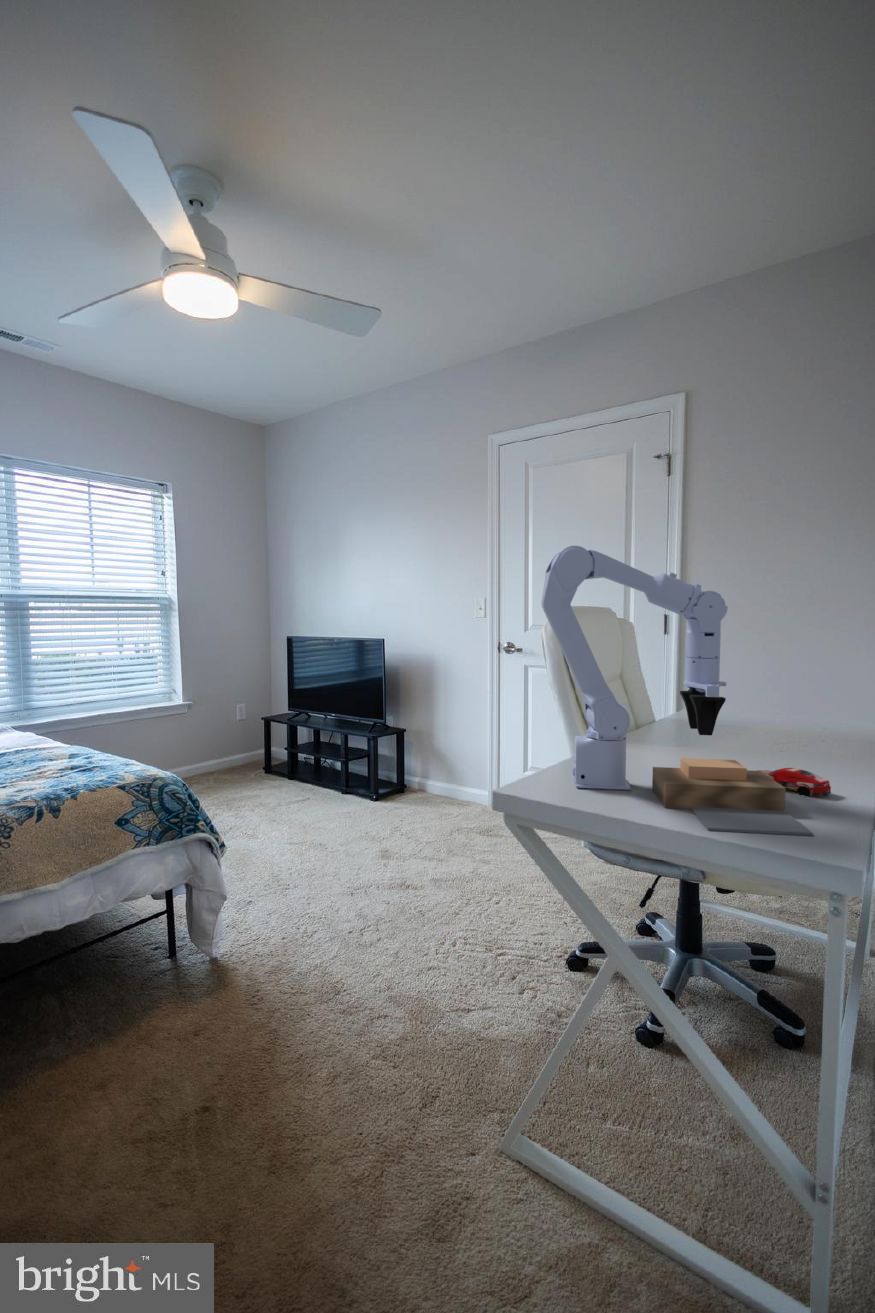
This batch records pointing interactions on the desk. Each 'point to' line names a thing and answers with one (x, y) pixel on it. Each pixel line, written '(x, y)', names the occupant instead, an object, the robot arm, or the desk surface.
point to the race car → (800, 781)
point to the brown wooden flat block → (717, 791)
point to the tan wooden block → (713, 769)
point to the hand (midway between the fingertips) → (700, 731)
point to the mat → (750, 821)
